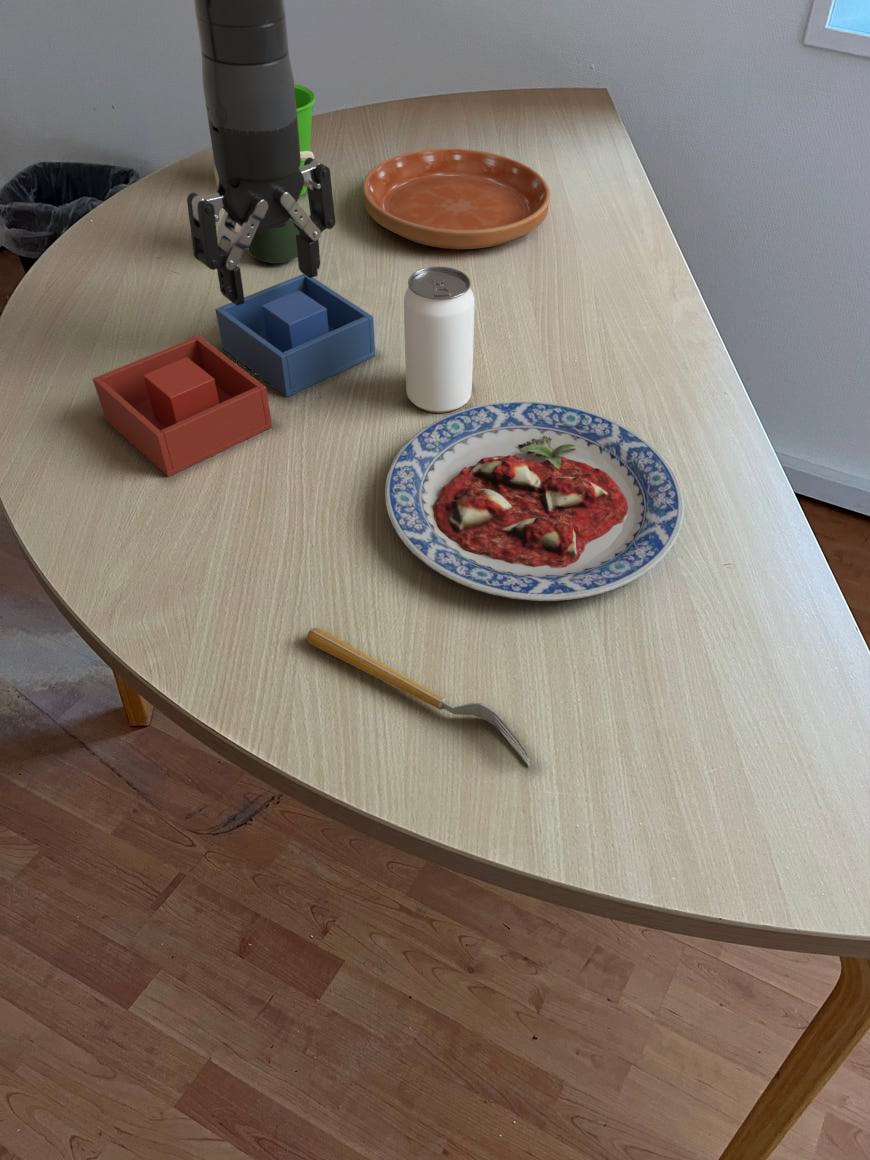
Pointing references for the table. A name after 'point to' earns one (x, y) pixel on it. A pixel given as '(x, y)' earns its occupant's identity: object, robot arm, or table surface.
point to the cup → (304, 119)
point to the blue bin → (308, 360)
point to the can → (439, 339)
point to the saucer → (456, 197)
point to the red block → (180, 391)
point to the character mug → (275, 236)
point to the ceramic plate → (534, 501)
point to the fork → (405, 682)
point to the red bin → (198, 434)
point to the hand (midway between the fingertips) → (272, 287)
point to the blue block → (294, 321)
